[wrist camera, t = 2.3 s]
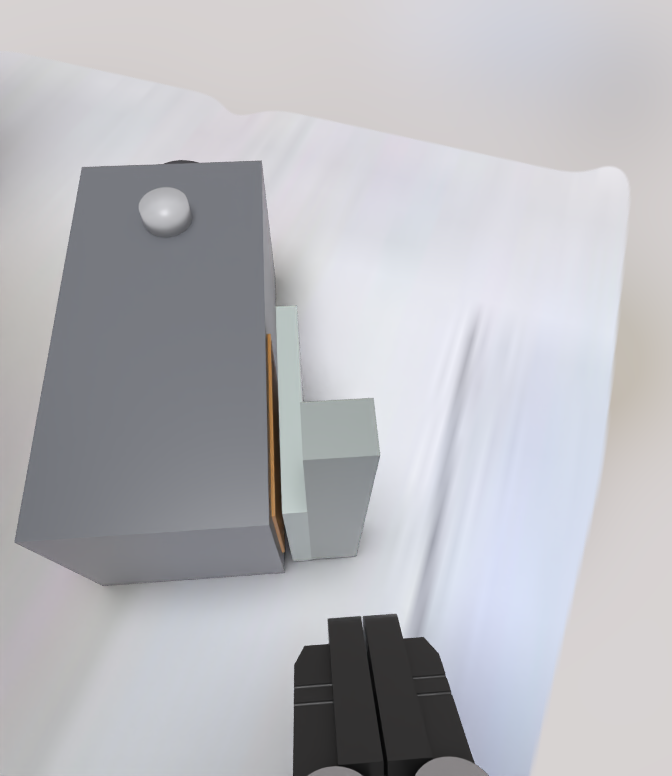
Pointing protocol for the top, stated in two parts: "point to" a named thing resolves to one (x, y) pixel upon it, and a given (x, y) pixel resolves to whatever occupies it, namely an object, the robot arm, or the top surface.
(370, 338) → the top surface
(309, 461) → the side door
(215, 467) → the block
